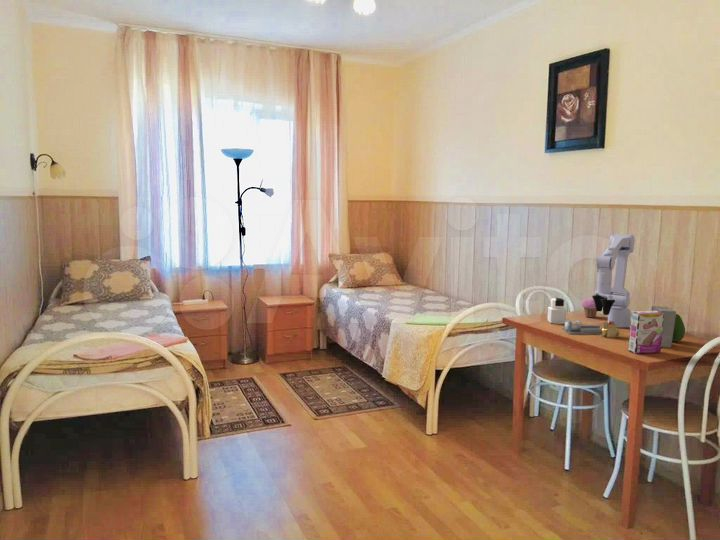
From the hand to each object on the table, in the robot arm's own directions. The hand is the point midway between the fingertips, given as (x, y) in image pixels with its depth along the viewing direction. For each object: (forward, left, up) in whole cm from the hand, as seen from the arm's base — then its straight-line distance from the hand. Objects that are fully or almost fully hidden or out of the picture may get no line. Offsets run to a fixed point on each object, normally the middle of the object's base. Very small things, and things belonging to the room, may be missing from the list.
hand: (602, 313), depth 243 cm
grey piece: (+5, -5, -10) cm, 13 cm away
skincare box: (-18, +17, -10) cm, 26 cm away
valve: (-3, +3, -10) cm, 11 cm away
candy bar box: (-6, +28, -10) cm, 30 cm away
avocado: (-27, +11, -10) cm, 30 cm away
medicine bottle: (+11, -24, -10) cm, 29 cm away
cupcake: (-11, -37, -10) cm, 40 cm away
